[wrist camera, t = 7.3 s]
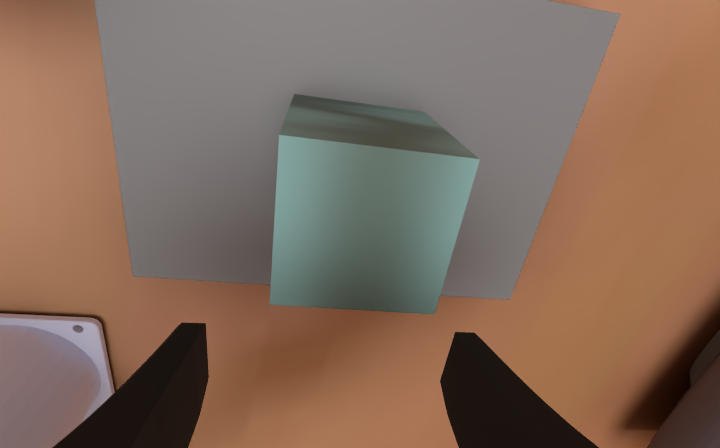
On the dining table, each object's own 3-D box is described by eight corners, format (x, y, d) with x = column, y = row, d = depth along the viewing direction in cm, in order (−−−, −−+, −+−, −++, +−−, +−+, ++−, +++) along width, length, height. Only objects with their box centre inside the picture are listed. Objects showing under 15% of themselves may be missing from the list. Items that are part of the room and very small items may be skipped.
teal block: (285, 214, 17) (269, 304, 11) (294, 94, 14) (279, 134, 9) (399, 225, 17) (434, 314, 12) (424, 111, 15) (480, 159, 10)
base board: (153, 247, 20) (132, 276, 17) (120, -68, 14) (82, -86, 12) (490, 272, 22) (509, 299, 20) (580, 15, 16) (620, 13, 14)
